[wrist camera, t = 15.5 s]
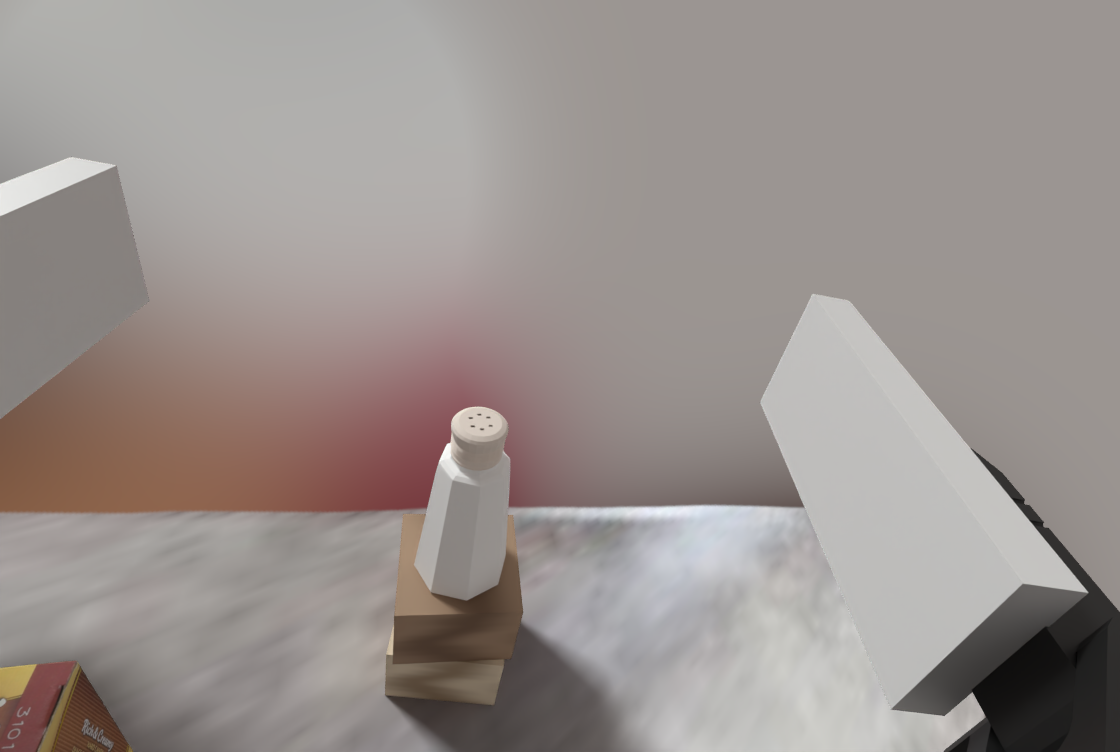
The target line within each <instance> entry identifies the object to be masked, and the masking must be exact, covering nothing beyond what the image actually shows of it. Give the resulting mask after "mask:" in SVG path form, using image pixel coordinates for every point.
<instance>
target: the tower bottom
mask: <svg viewBox="0 0 1120 752" xmlns="http://www.w3.org/2000/svg"><path fill="white" fill-rule="evenodd" d="M393 638H394V626H393V630H392V634H391V638H390V642H389V646H388V650H387V654H386V682H385V695H388V696H398V697H409V698H420V699H431V700H441V701H452V702H463V703H474V704H485V705H494V704H495V700H496V695H497V691H498V687H499V683H500V679H501V675H502V671H503V667H504V659H499V660H478V661H456V662H435V663H414V664H393Z"/></svg>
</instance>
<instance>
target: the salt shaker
mask: <svg viewBox="0 0 1120 752" xmlns="http://www.w3.org/2000/svg"><path fill="white" fill-rule="evenodd" d="M451 430H452V435H451V443H449V444H447V445H446V448H445V450H444V452H443V454H442V457H441V459H440V461H439V464H438V467H437V470H436V474H435V479H434V482H433V487H432V491H431V495H430V499H429V504H428V508H427V512H426V516H425V521H424V525H423V529H422V533H421V537H420V542H419V546H418V550H417V554H416V559H415V563H414V566H415V567H416V569H417V570H418V572H419V574H420V575H421V577H422V579H423V580H424V582H425V584H426V585H427V587H428V588H429V590H430V592H432V593H436V594H440V595H444V596H449V597H453V598H457V599H461V600H466V601H467V600H469V599H471V598H473V597H475V596H477V595H479V594H481V593H483V592H485V591H487V590H488V589H490V588H492V587H494V586H496V585H498V583H499V579H500V575H501V572H502V568H503V564H504V560H505V556H506V539H507V520H508V500H509V480H510V458H509V457H508V456H507V455H506V453H505V452H504V451H503V449H504V444H505V439H506V437H507V433H508V430H509V429H508V424H507V422H506V420H505V419H504V417H503V416H501V414H499V413H498V412H496V411H494V410H492V409H489V408H485V407H470V408H467V409H464V410H462V411H460V412H459V413H457V414H456V415H455V416H454V417H453V420H452V424H451Z"/></svg>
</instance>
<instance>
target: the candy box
mask: <svg viewBox="0 0 1120 752" xmlns="http://www.w3.org/2000/svg"><path fill="white" fill-rule="evenodd" d="M0 752H133V750H132V749H131V747H130V746H129V744H128V743H127V741H126V740H125V738H124V736H123V735H122V733H121V732H120V730H119V728H118V727H117V725H116V723H115V722H114V720H113V718H112V717H111V715H110V714H109V712H108V710H107V709H106V707H105V706H104V704H103V702H102V701H101V699H100V697H99V696H98V694H97V693H96V691H95V690H94V688H93V687H92V685H91V683H90V682H89V680H88V679H87V677H86V675H85V673H84V672H83V670H82V669H81V667H80V665H79V663H78V662H77V661H65V662H55V663H45V664H34V665H24V666H14V667H4V668H0Z"/></svg>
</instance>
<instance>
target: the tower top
mask: <svg viewBox="0 0 1120 752" xmlns="http://www.w3.org/2000/svg"><path fill="white" fill-rule="evenodd" d="M425 516H426V514H403V522H402V533H401V545H400V557H399V568H398V580H397V591H396V603H395V614H394V638H393V664H414V663H435V662H456V661H478V660H499V659H511V657H512V653H513V650H514V646H515V642H516V638H517V634H518V630H519V626H520V622H521V618H522V615H523V606H522V597H521V587H520V578H519V568H518V558H517V549H516V539H515V529H514V520H513V515H508V520H507V539H506V556H505V560H504V564H503V568H502V572H501V575H500V579H499V583H498V585H496V586H494V587H492V588H490V589H488V590H487V591H485V592H483V593H481V594H479V595H477V596H475V597H473V598H471V599H469V600H467V601H466V600H461V599H457V598H453V597H449V596H444V595H440V594H436V593H432V592H430V590H429V588H428V587H427V585H426V584H425V582H424V580H423V579H422V577H421V575H420V574H419V572H418V570H417V569H416V567H415V566H414V563H415V559H416V554H417V550H418V546H419V542H420V537H421V533H422V529H423V525H424V521H425Z"/></svg>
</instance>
